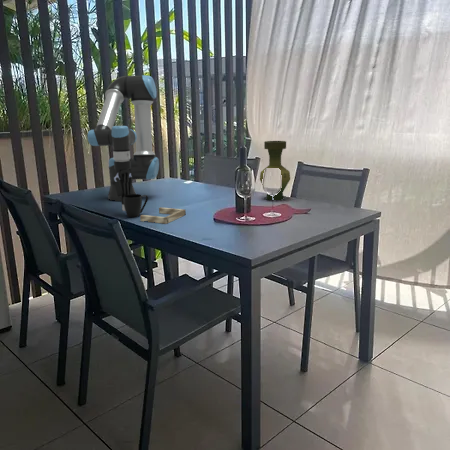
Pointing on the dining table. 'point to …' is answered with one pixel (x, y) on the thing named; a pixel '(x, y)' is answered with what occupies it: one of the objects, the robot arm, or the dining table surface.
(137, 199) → the mug
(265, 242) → the dining table surface
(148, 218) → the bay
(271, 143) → the vase
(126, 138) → the robot arm
